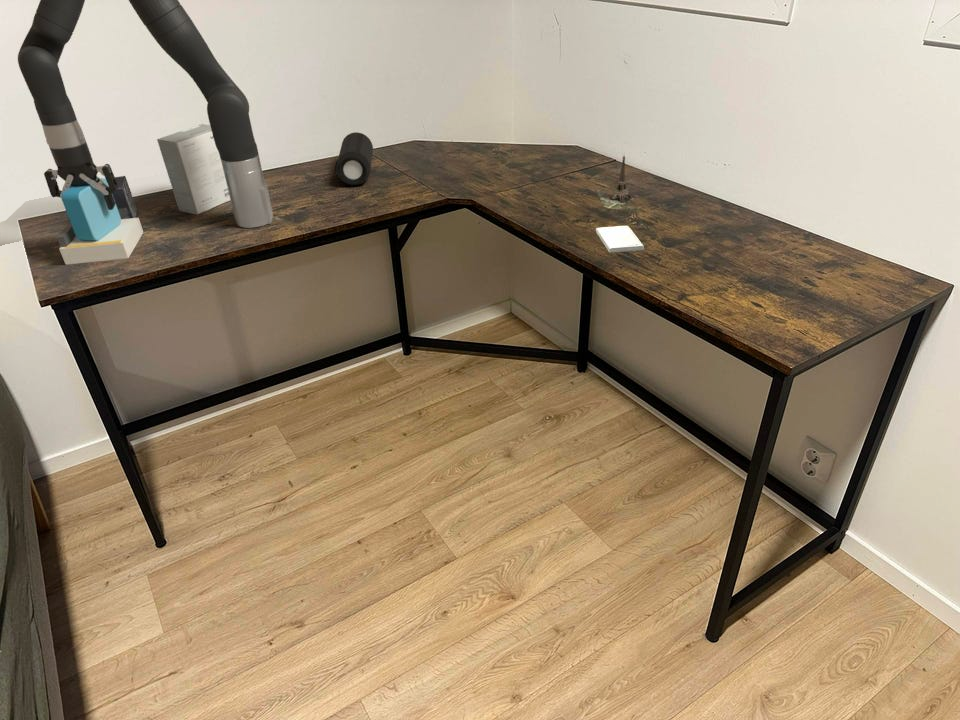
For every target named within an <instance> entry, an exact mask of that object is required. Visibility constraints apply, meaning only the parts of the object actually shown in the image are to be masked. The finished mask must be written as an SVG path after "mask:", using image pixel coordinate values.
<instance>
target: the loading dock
mask: <svg viewBox="0 0 960 720" xmlns="http://www.w3.org/2000/svg"><path fill="white" fill-rule="evenodd" d="M141 223H142V222H141V221H140V217H137V218H130V219H121V223H120V225H119V226H118V227H116V228H115V229H113V230H112V231H111V232H109V233H108V234H107V235H105V236H104V237H103V238H101V239H100V240H98V241H91V240H79V239H78V238H77V237H76V234H75V232H74V229H73V227H72V224H71V222H70V221H69V222H68V224H67V225H66V226H65V227H64V228H63V229H62V230H61V231H60V233H59V234H58V235H57V236H56V240H57V242H58V245H59V251H60V254H61V256H62V259H63V261H64V264H65V265H76V264H86V263H96V262H106V261H117V260H126V259H129V257H130V256H131V254H132V253H133V251H134V249H136V248H135V247H136V246H137V244H138V243H139V241H140V239H141V238H142V236H143V234H144V230H143V227H142V224H141Z"/></svg>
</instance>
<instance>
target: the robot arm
mask: <svg viewBox="0 0 960 720" xmlns="http://www.w3.org/2000/svg"><path fill="white" fill-rule="evenodd" d="M85 2H86V1H85V0H40V1H39V4H38V6H37V8H36V11H35V14H34V16H33V18H32V19H33V20H32V24H31V26H30V28H29V30H28V32H27V34H26V36H25V37H24V40H23V41H22V44H21V46H20V49H19V51H18V54H17V64H18V67H19V70H20V72H21V74H22V77H23V78H24V79H23V80H24V82H25V83H26V86H27V89H28V90H29V93H30V94H31V97H32V98H33V104H34V107H35V110H36V114H37V115H38V119H39V121H40V124H41V126H42V130H43V134H44V137H45V139H46V140H45V142H46V144H47V145H48V147H49V150H50V153H51V155H52V157H53V161H54V163H55V165H56V167H57V169H52V168H48V169H46V171H45V172H43V175H44V178H45V181H46V182H45V183H46V184H47V187H48V190H49V193H50V196H51V197H52V198H60V199H61V200H62V198H61V196H62V193H63V192H64V191H65V190H67V189H69V188H70V187H72V186H73V187H77V186H89V185H91V186H92V187H94V188H95V189H98V190H99V191H100V192H102V193H103V194H104V199H105V202H106V204H107V207H108V210H113V208H114V206H115V201H114V198H113V195H112V192H115V191H116V190H117V188H118V184H117V181H116V179H115V177H116V176H115V175H114V172H113V170H112V167H111V165H110V164H109V163H105V164H104V165H100V166H97V165H96V164H95V163H94V160H93V157H92V154H91V151H90V148H89V145H88V143H87V140H86V137H85V135H84V132H83V130H82V127H81V125H80V123H79V121H78V119H77V116H76V113H75V110H74V107H73V105H72V102H71V100H70V97H69V96H68V95H67V91H66V87H65V84H64V80H63V77H62V74H61V71H60V68H59V62H60V59H61V56H62V53H63V51H64V48H65V46H66V44H67V43H68V42H69V41H70V39H72V35H73V34H74V32H75V29H76V27H77V24H78V21H79V19H80V17H81V14H82V12H83V9H84V5H85ZM128 2H129V4H130V5H131V7H132V8H133V10H134V12H135V14H136V15H137V16H138V18H139V19H140V21H141V22H142V24H143V25H144V26H145V28H146V29H147V30H148V32H149V33H150V34H151V36H152V38H154V40H155V41H156V43H157V44H158V45H159V46H160V47H161V49H162V50H163V51H164V52H165V53H166V54H167V55H168V56H169V57H170V58H171V59H172V60H173V61H174V62H175V63H176V64H177V65H178V66H180V67H181V69H183V70H184V71H185V72H186V73H187V75H189V77H190V78H191V79H192V80H193V82H194V83H195V85H196V86H197V87H198V89H199V91H200V93H201V94H202V95H203V97H204V99H205V100H206V103H207V105H206V112H207V118H208V122H209V125H210V126H211V130H212V134H213V137H214V141H215V145H216V148H217V150H218V152H219V155H220V159H221V163H222V167H223V171H224V175H225V179H226V183H227V187H228V191H229V195H230V199H231V200H230V204H231V206H232V211H233V215H234V219H235V223H236V225H237V226H238V227H241V228H245V229H246V228H247V229H248V228H249V229H250V228H257V227H262V226H265V225H269V224H270V225H271V224H272V223H273V218H274V212H273V209H272V203H271V198H270V195H269V189H268V185H267V181H266V180H265V177H264V173H263V168H262V164H261V159H260V155H259V154H260V153H259V150H258V145H257V143H256V141H255V136H254V131H253V127H252V123H251V118H250V117H251V116H250V104H249V101H248V98H247V96H246V95H245V93H243V91H242V90H241V89H240V87H239V86H238V85H237V84H236V83H235V82H234V80H233V79H232V78H231V77H230V75H228V73H227V72H226V71H225V70H224V68H223V67H222V66H221V65H220V63H219V62H218V60H217V59H216V58H215V56H214V54H213V52H212V51H211V49H210V47H209V45H208V44H207V43H206V40H205V39H204V37H203V35H202V34H201V32H200V30H199V29H198V28H197V26H196V25H195V23H194V22H193V20H192V18H190V16H189V14H188V13H187V11H186V10H185V9H184V7H183V5H182V4H181V3H180V1H179V0H128ZM98 173H100V175H102V176H103V177H104V178H105V179H106V181H107V183H108V186H107V185H106V184H105V183H104V182H103V181H102V180H101V179H100V178H101V177H99V176H98ZM58 177H60V178H61V179H62V180H63V181H64V184H63V187H62V189H60V187H59V185H58V184H59V183H58V181H57V179H58Z"/></svg>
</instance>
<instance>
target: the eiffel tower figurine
mask: <svg viewBox="0 0 960 720" xmlns="http://www.w3.org/2000/svg"><path fill="white" fill-rule="evenodd" d="M624 154H625V152H624ZM625 161H626V156H625V155H623V156H622V163H621V169H620V175H619V179H618V181H617V185H616V187H615V188H614V189H613V192H612V193H611V195H610V196H609V197H604V195H605V194H607V193H608V192H607V191H606V190H596V194H597V196H598V198H599V200H600V202H601V205H602V207H604V208H606V209H610V210H624V211H625V210H626V211H627V210H639V209H642V207H640V206H639V207H638V206H625V205H627V204H628V203H630V202H632V201H634V200H635V198H633V196H632V195H631V193H630V191H629V188H628V187H627V183H626V178H625V177H626V176H625V175H626V174H625V173H626V171H625V169H626V166H625V165H626V164H625V163H626V162H625ZM626 195H627V196H626Z"/></svg>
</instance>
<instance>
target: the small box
mask: <svg viewBox="0 0 960 720" xmlns="http://www.w3.org/2000/svg"><path fill="white" fill-rule="evenodd" d="M114 177H115V179H116V181H117V184H118V188H117V190H116V191H115V192H112V194H113V197H114V200H115V203H116V206H117V209H118V212H119V215H120V217H121V219H130V218H138V215H139V211H138V208H137V205H136V202H135V200H134V197H133V195H132V190H131V189H130V185H129V183H128V179H127V177H126V175H121V176H114Z"/></svg>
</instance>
